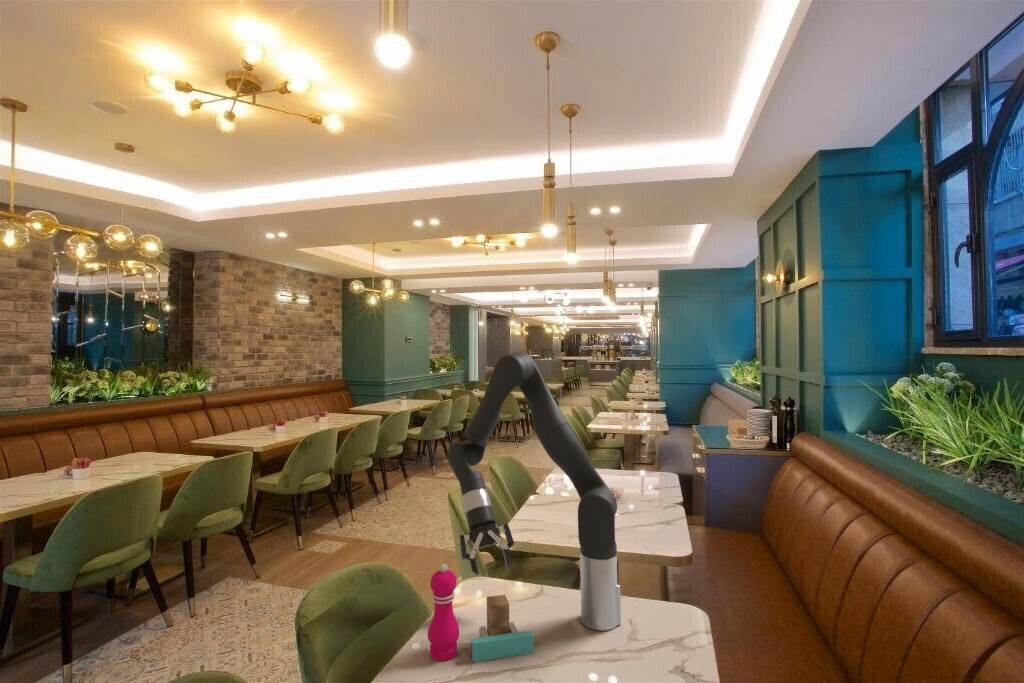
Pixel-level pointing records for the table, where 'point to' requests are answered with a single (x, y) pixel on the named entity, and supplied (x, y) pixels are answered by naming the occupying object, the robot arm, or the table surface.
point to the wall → (502, 645)
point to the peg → (497, 615)
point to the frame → (484, 633)
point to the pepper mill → (443, 616)
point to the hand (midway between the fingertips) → (492, 570)
